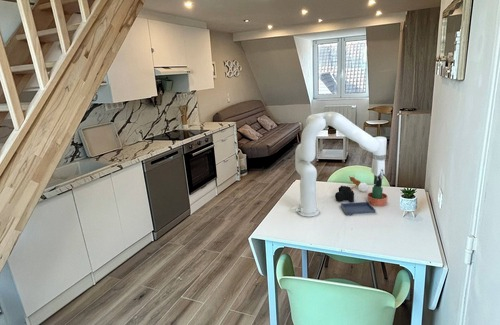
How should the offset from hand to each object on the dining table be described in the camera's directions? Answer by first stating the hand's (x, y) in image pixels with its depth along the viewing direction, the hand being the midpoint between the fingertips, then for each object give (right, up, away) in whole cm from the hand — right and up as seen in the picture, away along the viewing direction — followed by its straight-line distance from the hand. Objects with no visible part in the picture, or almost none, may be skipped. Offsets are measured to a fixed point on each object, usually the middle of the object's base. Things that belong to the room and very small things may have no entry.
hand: (377, 184), depth 194 cm
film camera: (-18, -11, +13) cm, 25 cm away
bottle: (+1, -12, +3) cm, 12 cm away
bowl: (+1, -12, +4) cm, 13 cm away
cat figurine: (-4, -6, +29) cm, 29 cm away
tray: (-14, -15, -4) cm, 21 cm away
